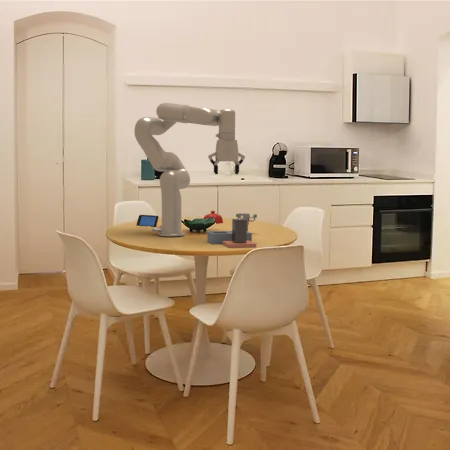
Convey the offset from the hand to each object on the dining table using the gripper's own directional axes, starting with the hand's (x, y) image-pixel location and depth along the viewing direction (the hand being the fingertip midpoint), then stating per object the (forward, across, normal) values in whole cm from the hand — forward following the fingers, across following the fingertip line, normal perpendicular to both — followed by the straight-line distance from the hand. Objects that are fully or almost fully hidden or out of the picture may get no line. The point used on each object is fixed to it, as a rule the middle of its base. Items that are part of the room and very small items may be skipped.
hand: (226, 174), depth 301 cm
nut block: (+29, 0, -22) cm, 36 cm away
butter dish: (+31, +9, +61) cm, 69 cm away
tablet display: (+31, -31, +51) cm, 67 cm away
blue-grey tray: (+30, -1, -10) cm, 32 cm away
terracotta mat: (+30, 0, -22) cm, 38 cm away
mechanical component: (+31, +16, +20) cm, 40 cm away
